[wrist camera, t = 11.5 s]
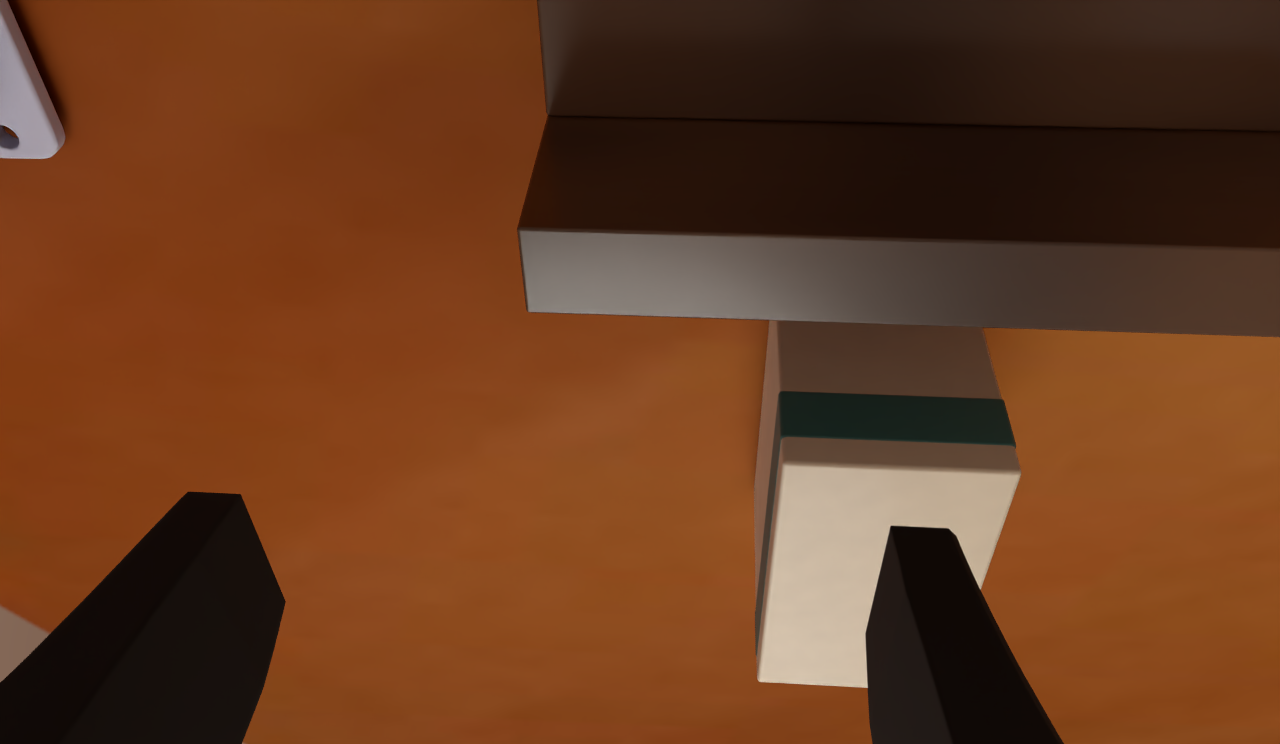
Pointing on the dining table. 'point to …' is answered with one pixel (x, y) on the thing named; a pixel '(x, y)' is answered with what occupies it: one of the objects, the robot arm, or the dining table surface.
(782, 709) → the dining table surface
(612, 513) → the dining table surface
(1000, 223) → the walnut shelf
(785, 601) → the tea box
